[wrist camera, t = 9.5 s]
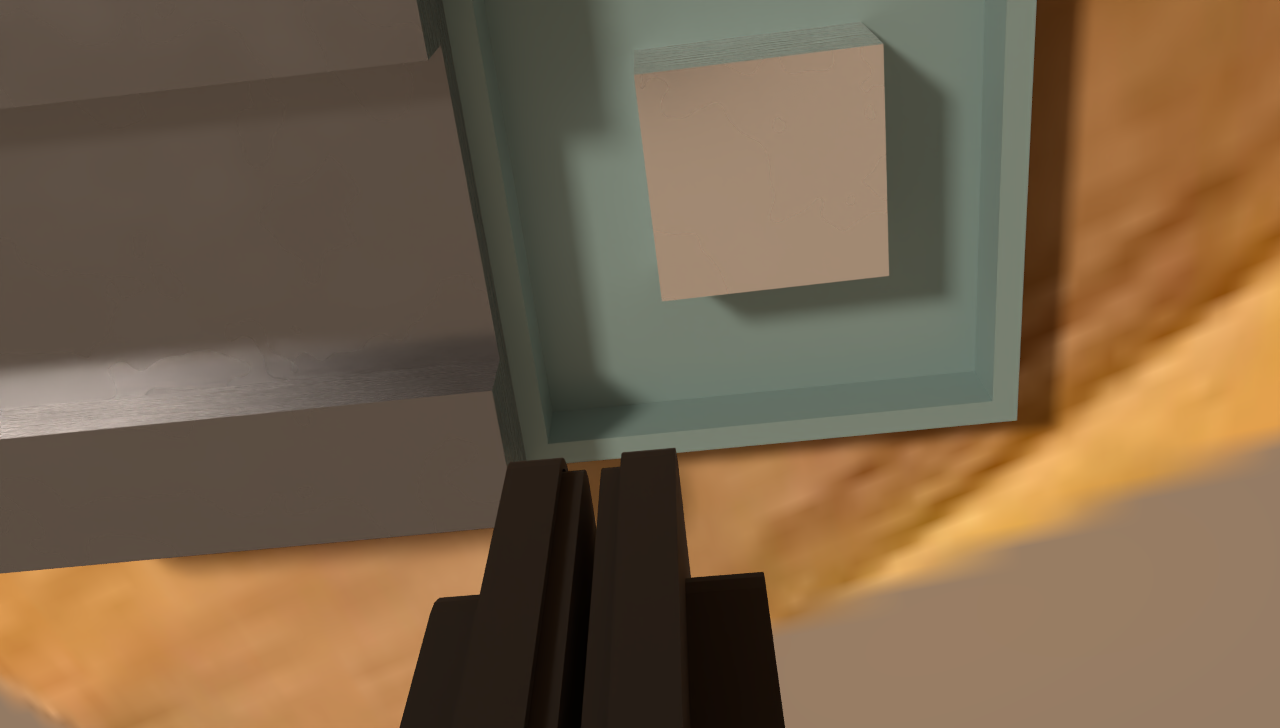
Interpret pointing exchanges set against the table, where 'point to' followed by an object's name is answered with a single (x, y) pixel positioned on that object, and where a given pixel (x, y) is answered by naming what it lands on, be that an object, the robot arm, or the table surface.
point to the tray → (757, 320)
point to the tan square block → (765, 160)
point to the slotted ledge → (240, 282)
